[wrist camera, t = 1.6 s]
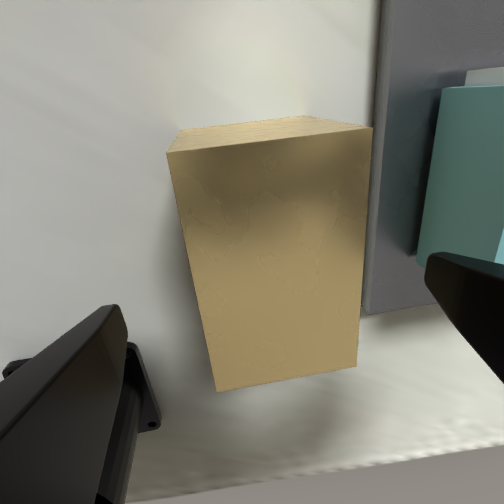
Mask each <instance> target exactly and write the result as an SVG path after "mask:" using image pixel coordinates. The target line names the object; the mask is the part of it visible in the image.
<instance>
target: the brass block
mask: <svg viewBox="0 0 504 504" xmlns="http://www.w3.org/2000/svg"><path fill="white" fill-rule="evenodd" d="M372 132H373V127H367V126H361V125H355V124H349V123H344V122H338V121H332V120H326V119H320V118H314V117H309V116H297V117H288V118H280V119H271V120H263V121H254V122H245V123H237V124H228V125H220V126H211V127H203V128H194V129H186V130H181V131H180V133H179V134H178V136H177V137H176V139H175V140H174V142H173V143H172V145H171V146H170V148H169V149H168V151H167V152H166V155H167V159H168V164H169V169H170V174H171V178H172V183H173V188H174V192H175V197H176V202H177V207H178V211H179V216H180V221H181V225H182V230H183V235H184V240H185V244H186V249H187V254H188V258H189V263H190V268H191V273H192V277H193V282H194V287H195V291H196V296H197V301H198V306H199V310H200V315H201V320H202V324H203V329H204V334H205V339H206V343H207V348H208V353H209V357H210V362H211V367H212V372H213V376H214V381H215V386H216V390H217V392H222V391H227V390H232V389H238V388H243V387H249V386H254V385H259V384H265V383H270V382H275V381H281V380H286V379H292V378H297V377H302V376H308V375H313V374H319V373H324V372H329V371H335V370H340V369H345V368H351V367H356V365H357V350H358V336H359V321H360V307H361V292H362V277H363V263H364V248H365V234H366V219H367V205H368V190H369V176H370V161H371V147H372Z"/></svg>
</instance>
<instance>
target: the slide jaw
mask: <svg viewBox="0 0 504 504" xmlns="http://www.w3.org/2000/svg"><path fill="white" fill-rule="evenodd" d="M443 251H444V252H449V253H454V254H458V255H463V256H468V257H472V258H477V259H481V260H486V261H490V262H495V263H500V264H504V67H498V68H489V69H480V70H470V71H467V75H466V81H465V86H459V87H450V88H442V94H441V101H440V107H439V114H438V120H437V127H436V133H435V140H434V146H433V152H432V159H431V165H430V172H429V178H428V185H427V191H426V198H425V204H424V211H423V217H422V224H421V230H420V237H419V243H418V250H417V256H416V263H418V264H419V265H420V266H422V267H423V268H424V269H425V268H426V262H427V257H428V256H429V255H430V254H431V253H436V252H443Z"/></svg>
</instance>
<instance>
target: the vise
mask: <svg viewBox="0 0 504 504" xmlns="http://www.w3.org/2000/svg"><path fill="white" fill-rule="evenodd" d="M498 67H504V0H382V5H381V19H380V34H379V48H378V62H377V76H376V91H375V105H374V119H373V133H372V147H371V162H370V176H369V190H368V205H367V219H366V234H365V248H364V263H363V277H362V292H361V305H362V306H363V308H364V309H365V310H366V311H367V313H368V314H369V315H370V314H375V313H381V312H387V311H393V310H399V309H404V308H410V307H416V306H422V305H427V304H433V303H438V302H437V301H436V300H435V298H434V297H433V295H432V294H431V292H430V291H429V290H428V288H427V287H426V285H425V282H424V274H425V269H424V268H423V267H422V266H420V265H419V264H418V263H416V256H417V250H418V243H419V237H420V230H421V224H422V217H423V211H424V204H425V198H426V191H427V185H428V178H429V172H430V165H431V159H432V152H433V146H434V140H435V133H436V127H437V120H438V114H439V107H440V101H441V94H442V88H450V87H459V86H465V81H466V75H467V71H470V70H480V69H489V68H498Z"/></svg>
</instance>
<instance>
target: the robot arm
mask: <svg viewBox="0 0 504 504" xmlns="http://www.w3.org/2000/svg"><path fill="white" fill-rule="evenodd" d="M424 282H425V285H426V287H427V288H428V290H429V291H430V292H431V294H432V295H433V297H434V298H435V300H436V301H437V302H438V304H439V305H440V307H441V308H442V310H443V311H444V312H445V314H446V315H447V317H448V318H449V320H450V321H451V322H452V324H453V325H454V326H455V327H456V329H457V330H458V331H459V332H460V334H461V335H462V336H463V337H464V338H465V339H466V341H467V342H468V343H469V344H470V345H471V346H472V348H473V349H474V350H475V351H476V352H477V353H478V355H479V356H480V357H481V358H482V359H483V360H484V361H485V363H486V364H487V365H488V366H489V367H490V368H491V370H492V371H493V372H494V373H495V374H496V375H497V377H498V378H499V379H500V380H501V381H502V382H503V384H504V264H500V263H495V262H490V261H486V260H481V259H477V258H472V257H468V256H463V255H458V254H454V253H449V252H444V251H443V252H436V253H431V254H430V255H429V256H428V257H427V262H426V268H425V274H424ZM127 338H128V331H127V326H126V323H125V321H124V318H123V315H122V312H121V309H120V307H119V306H118V305H117V304H112V305H106V306H101V307H100V308H99V309H97V310H96V311H95V312H93V313H92V314H91V315H89V316H88V317H87V318H85V319H84V320H83V321H81V322H80V323H79V324H77V325H76V326H75V327H73V328H72V329H71V330H69V331H68V332H67V333H65V334H64V335H63V336H61V337H60V338H59V339H57V340H56V341H55V342H53V343H52V344H51V345H49V346H48V347H47V348H45V349H44V350H43V351H41V352H40V353H39V354H37V355H36V356H35V357H33V358H29V359H23V360H17V361H12V362H10V363H9V364H7V366H6V367H5V369H4V370H3V372H2V374H3V377H4V380H3V381H1V382H0V504H124V503H125V498H126V493H127V487H128V482H129V477H130V472H131V466H132V461H133V456H134V451H135V446H136V440H137V435H138V433H141V432H146V431H151V430H155V429H158V428H159V427H160V426H161V419H162V418H161V414H160V411H159V408H158V405H157V402H156V399H155V396H154V393H153V390H152V388H151V385H150V382H149V379H148V376H147V373H146V370H145V367H144V364H143V361H142V358H141V355H140V352H139V349H138V347H137V346H136V345H135V344H134V343H131V342H127ZM126 351H129V352H131V353H126Z"/></svg>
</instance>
